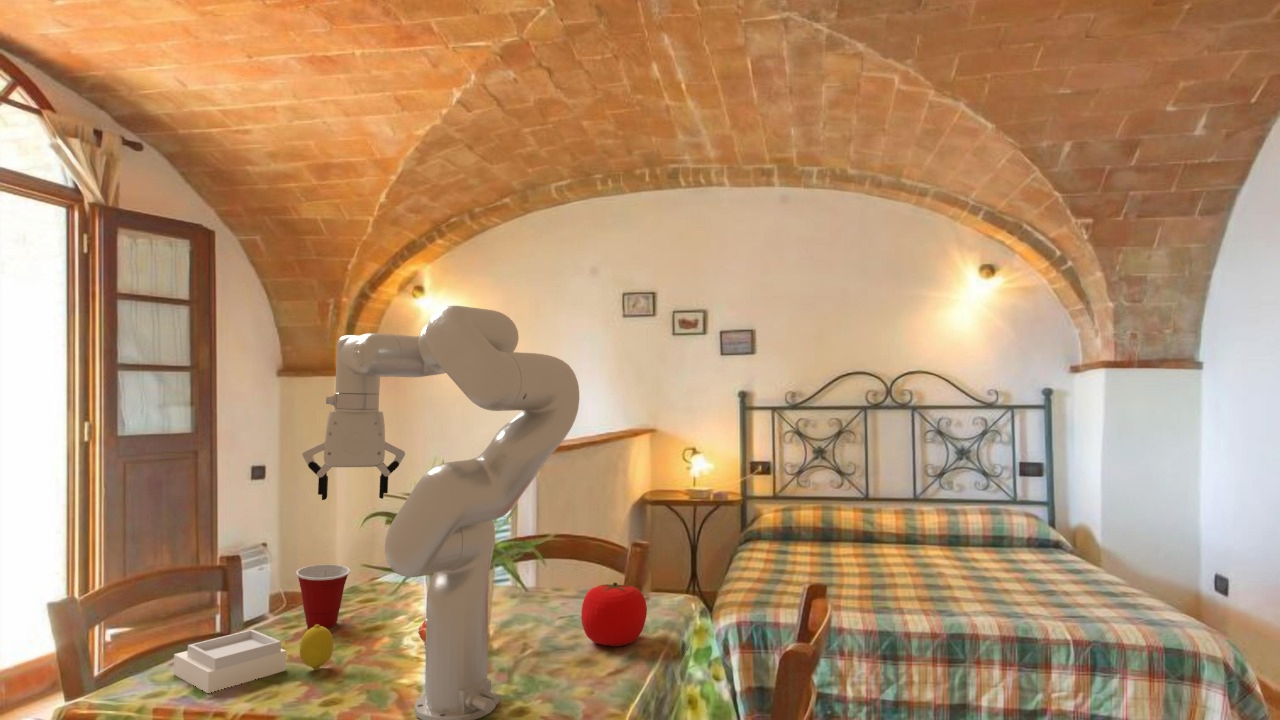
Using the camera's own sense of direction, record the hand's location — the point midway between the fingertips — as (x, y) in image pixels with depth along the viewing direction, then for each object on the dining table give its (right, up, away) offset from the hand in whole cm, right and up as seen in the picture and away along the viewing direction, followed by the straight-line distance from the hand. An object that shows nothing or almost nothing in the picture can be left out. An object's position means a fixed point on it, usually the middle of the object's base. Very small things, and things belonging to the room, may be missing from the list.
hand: (353, 498), depth 133 cm
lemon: (-6, -31, -1) cm, 32 cm away
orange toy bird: (+12, -32, +14) cm, 37 cm away
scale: (-21, -31, -2) cm, 37 cm away
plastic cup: (-16, -32, +24) cm, 43 cm away
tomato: (+47, -32, +14) cm, 58 cm away
